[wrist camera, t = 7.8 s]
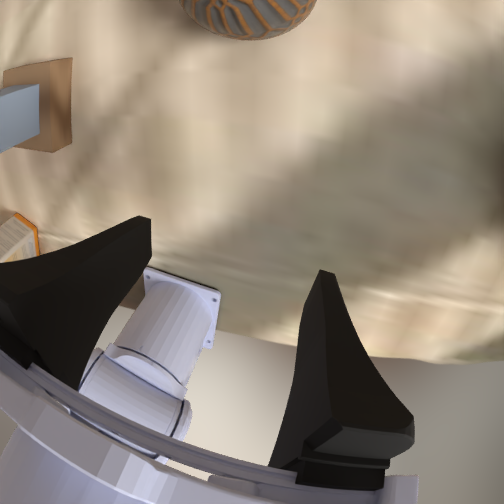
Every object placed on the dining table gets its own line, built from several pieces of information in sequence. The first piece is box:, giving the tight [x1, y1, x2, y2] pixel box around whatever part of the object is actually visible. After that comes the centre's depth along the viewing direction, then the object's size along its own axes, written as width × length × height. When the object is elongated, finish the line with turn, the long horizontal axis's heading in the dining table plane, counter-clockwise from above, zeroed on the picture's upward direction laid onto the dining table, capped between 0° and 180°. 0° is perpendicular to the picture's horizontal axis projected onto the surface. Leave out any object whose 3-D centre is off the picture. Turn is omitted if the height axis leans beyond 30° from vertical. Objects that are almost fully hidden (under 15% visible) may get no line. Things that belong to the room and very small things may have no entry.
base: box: [3, 58, 72, 153], centre depth 19 cm, size 8×8×3 cm
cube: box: [0, 84, 40, 153], centre depth 16 cm, size 4×4×4 cm
